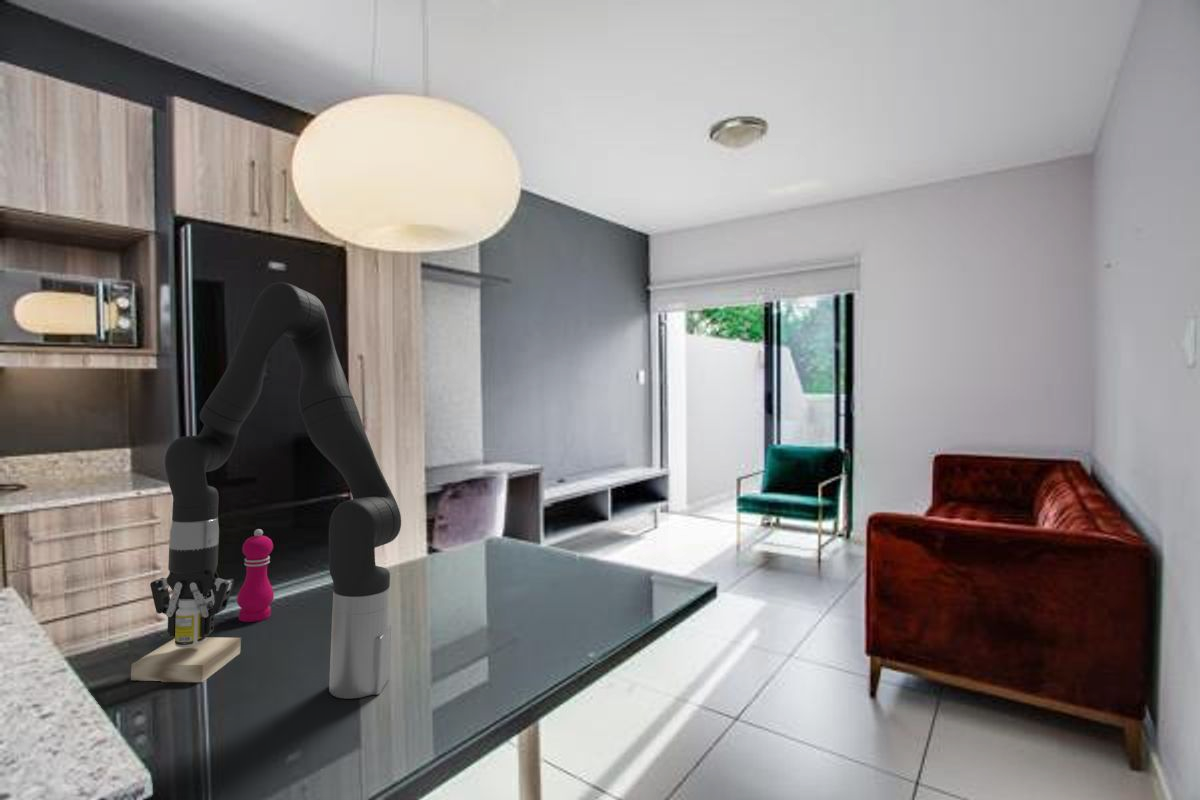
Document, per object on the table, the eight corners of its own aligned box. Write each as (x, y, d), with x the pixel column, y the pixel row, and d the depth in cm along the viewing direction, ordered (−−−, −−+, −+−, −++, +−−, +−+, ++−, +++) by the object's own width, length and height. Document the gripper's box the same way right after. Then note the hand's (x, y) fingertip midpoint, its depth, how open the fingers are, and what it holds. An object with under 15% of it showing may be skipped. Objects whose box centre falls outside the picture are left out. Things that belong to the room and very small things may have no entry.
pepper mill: (267, 609, 138) (271, 524, 138) (277, 618, 133) (280, 530, 133) (232, 616, 133) (236, 528, 133) (240, 625, 128) (244, 534, 128)
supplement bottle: (201, 635, 112) (203, 591, 112) (209, 642, 109) (211, 597, 109) (170, 642, 108) (172, 597, 108) (179, 650, 105) (181, 603, 105)
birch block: (240, 653, 115) (240, 637, 115) (202, 682, 103) (203, 665, 103) (176, 652, 114) (177, 636, 114) (130, 681, 102) (131, 664, 102)
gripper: (245, 539, 113) (241, 628, 112) (167, 537, 112) (164, 627, 112) (222, 549, 105) (218, 644, 105) (139, 547, 104) (135, 643, 104)
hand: (190, 635), depth 108 cm, fingers closed on supplement bottle, 4 cm apart
